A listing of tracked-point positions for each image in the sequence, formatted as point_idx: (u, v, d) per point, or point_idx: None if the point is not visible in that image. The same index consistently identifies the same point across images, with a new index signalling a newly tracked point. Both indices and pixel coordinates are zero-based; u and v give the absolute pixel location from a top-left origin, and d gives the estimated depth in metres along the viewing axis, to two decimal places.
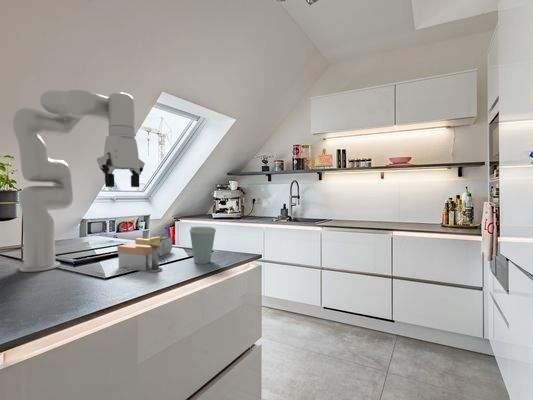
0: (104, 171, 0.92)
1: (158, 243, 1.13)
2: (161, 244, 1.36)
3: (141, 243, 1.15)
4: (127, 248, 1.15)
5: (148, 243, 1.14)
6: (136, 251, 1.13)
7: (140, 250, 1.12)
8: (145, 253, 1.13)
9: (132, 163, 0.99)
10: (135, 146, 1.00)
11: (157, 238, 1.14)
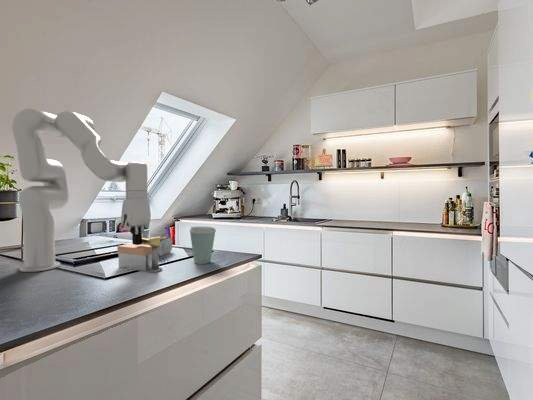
0: (132, 232, 1.13)
1: (158, 243, 1.12)
2: (161, 244, 1.36)
3: (142, 243, 1.16)
4: (127, 248, 1.15)
5: (148, 243, 1.14)
6: (136, 251, 1.13)
7: (140, 250, 1.12)
8: (145, 253, 1.13)
9: (145, 220, 1.15)
10: (148, 205, 1.16)
11: (157, 238, 1.14)
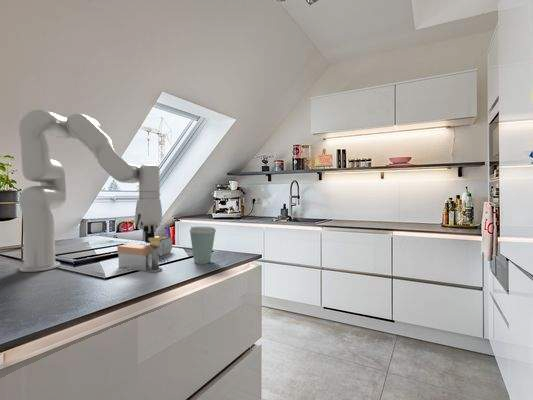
0: (145, 231, 1.18)
1: (154, 243, 1.12)
2: (161, 244, 1.36)
3: None
4: (127, 248, 1.15)
5: None
6: (136, 251, 1.13)
7: (140, 250, 1.12)
8: (145, 253, 1.13)
9: (157, 220, 1.21)
10: (159, 205, 1.22)
11: (156, 238, 1.13)
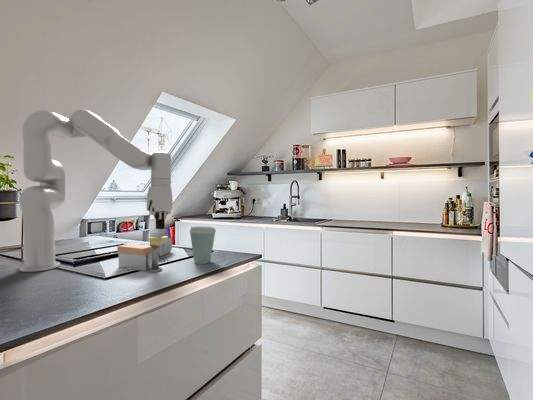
0: (156, 217, 1.21)
1: (152, 243, 1.12)
2: (161, 244, 1.36)
3: None
4: (127, 248, 1.15)
5: None
6: (136, 251, 1.13)
7: (140, 250, 1.12)
8: (145, 253, 1.13)
9: (168, 207, 1.23)
10: (170, 193, 1.24)
11: (156, 238, 1.13)
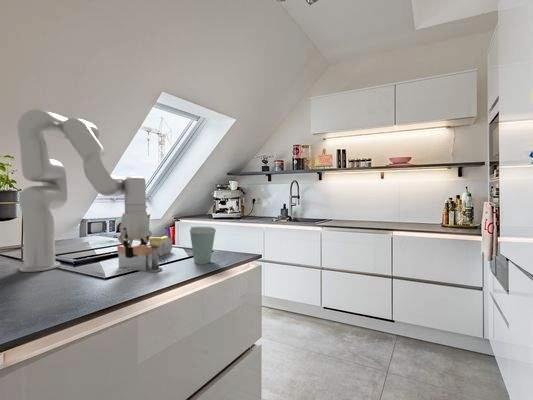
0: (125, 245, 1.13)
1: (152, 243, 1.12)
2: (161, 244, 1.36)
3: None
4: None
5: None
6: (136, 251, 1.13)
7: (140, 250, 1.12)
8: (145, 253, 1.13)
9: (144, 233, 1.18)
10: (146, 218, 1.19)
11: (156, 238, 1.13)
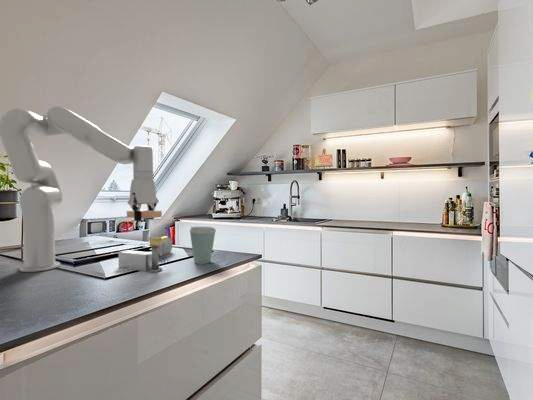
0: (134, 209, 1.21)
1: (152, 243, 1.12)
2: (161, 244, 1.36)
3: None
4: None
5: None
6: (145, 214, 1.22)
7: (148, 213, 1.21)
8: (153, 216, 1.22)
9: (151, 199, 1.26)
10: (153, 185, 1.27)
11: (156, 238, 1.13)
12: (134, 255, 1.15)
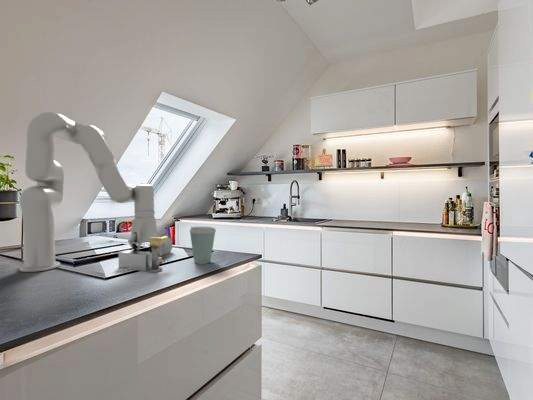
0: (133, 248, 1.21)
1: (152, 243, 1.12)
2: (161, 244, 1.36)
3: None
4: None
5: None
6: None
7: None
8: None
9: None
10: (154, 223, 1.28)
11: (156, 238, 1.13)
12: (134, 255, 1.15)
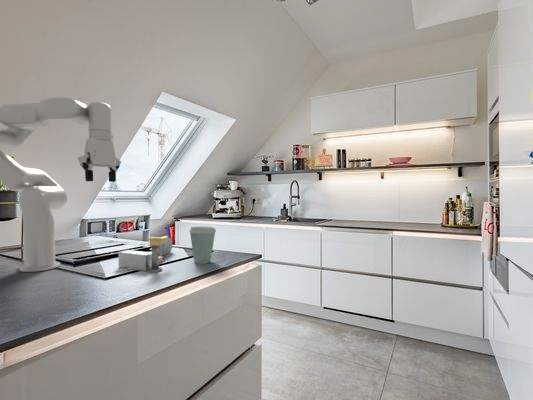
0: (84, 168, 1.11)
1: (152, 243, 1.12)
2: (161, 244, 1.36)
3: None
4: None
5: None
6: None
7: None
8: None
9: (109, 161, 1.17)
10: (112, 147, 1.18)
11: (156, 238, 1.13)
12: (134, 255, 1.15)
